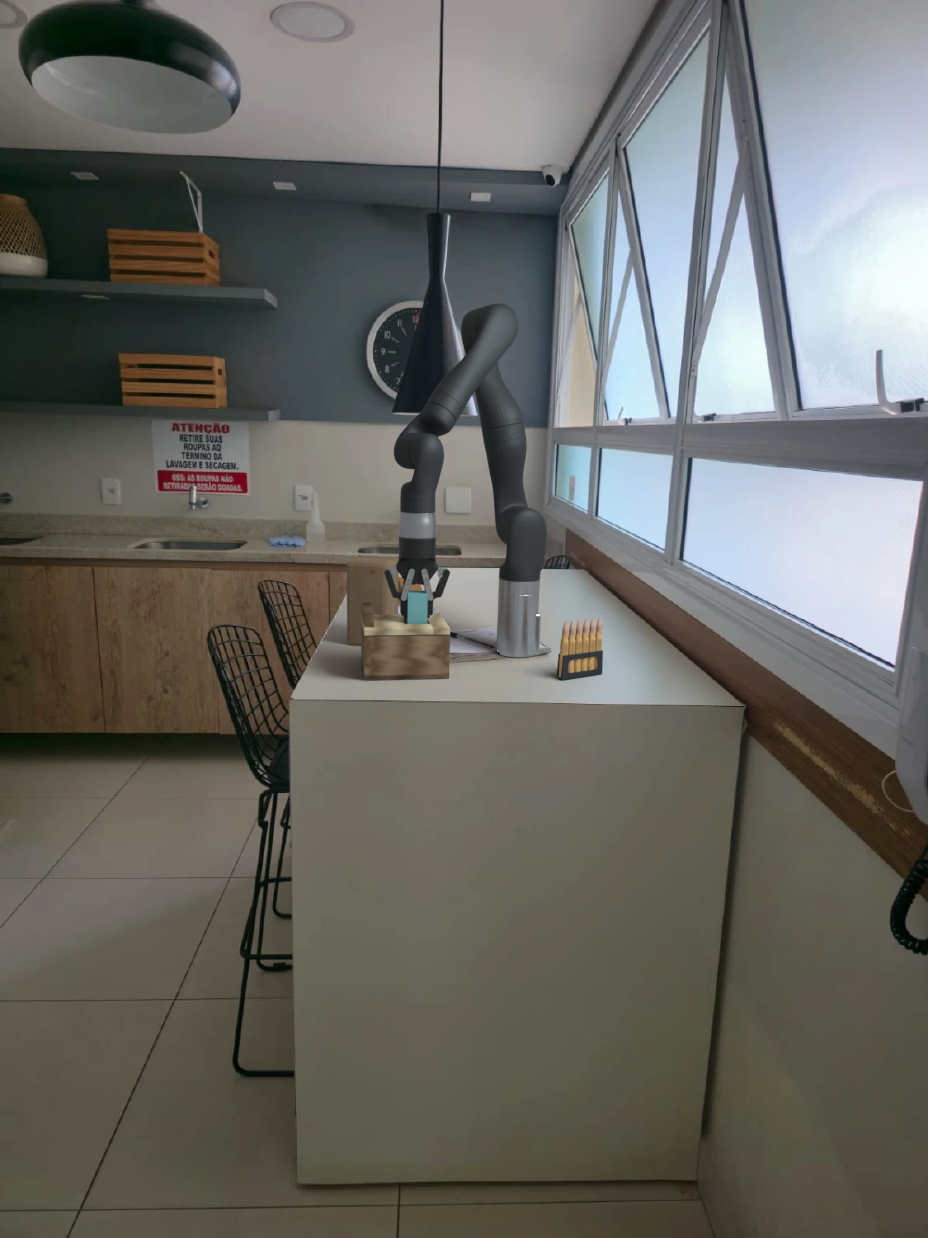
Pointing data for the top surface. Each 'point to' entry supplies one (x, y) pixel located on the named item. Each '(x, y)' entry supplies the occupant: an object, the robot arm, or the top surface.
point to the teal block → (417, 607)
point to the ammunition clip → (580, 651)
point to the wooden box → (405, 657)
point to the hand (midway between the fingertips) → (416, 617)
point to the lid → (399, 624)
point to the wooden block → (368, 591)
